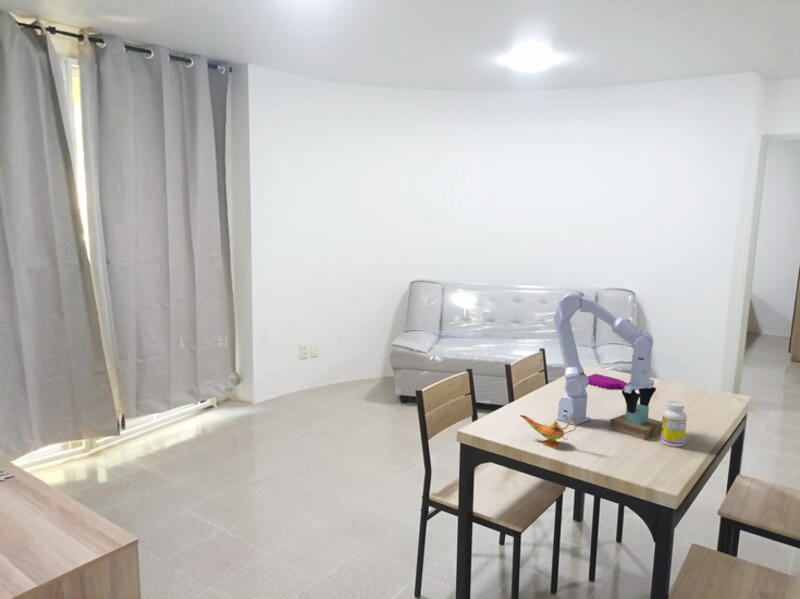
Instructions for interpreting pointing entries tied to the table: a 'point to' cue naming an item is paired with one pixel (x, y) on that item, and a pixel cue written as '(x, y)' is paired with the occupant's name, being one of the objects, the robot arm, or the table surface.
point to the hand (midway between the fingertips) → (637, 410)
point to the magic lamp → (549, 431)
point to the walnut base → (636, 427)
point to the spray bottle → (607, 382)
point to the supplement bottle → (674, 424)
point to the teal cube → (638, 415)
